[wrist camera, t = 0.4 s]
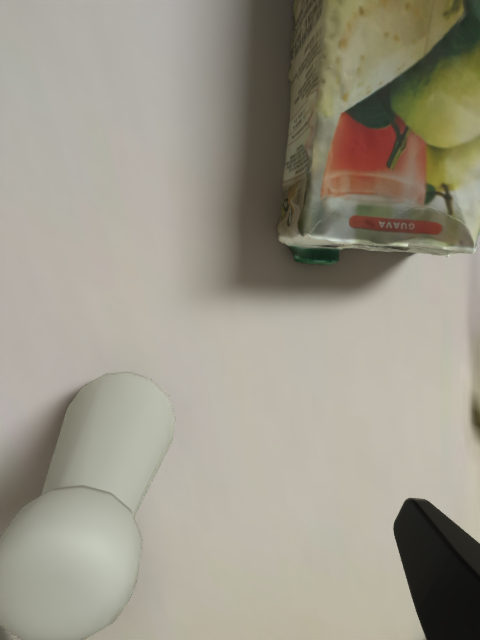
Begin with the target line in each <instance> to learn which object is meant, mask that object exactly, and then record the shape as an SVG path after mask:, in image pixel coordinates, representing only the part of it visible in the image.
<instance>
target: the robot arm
mask: <svg viewBox="0 0 480 640" xmlns="http://www.w3.org/2000/svg"><path fill="white" fill-rule="evenodd" d="M394 536H395V539H396V543H397V547H398V550H399V554H400V557H401V561H402V564H403V568H404V571H405V575H406V578H407V582H408V585H409V589H410V592H411V596H412V599H413V602H414V606H415V609H416V612H417V615H418V618H419V620H420V623H421V626H422V629H423V631H424V634H425V637H426V639H427V640H480V543H478V542H477V541H476V540H475V539H474V538H472V537H471V536H470V535H469V534H467V533H466V532H465V531H464V530H463V529H461V528H460V527H459V526H458V525H457V524H455V523H454V522H453V521H452V520H451V519H449V518H448V517H447V516H446V515H445V514H443V513H442V512H441V511H440V510H439V509H437V508H436V507H435V506H434V505H433V504H431V503H430V502H429V501H427V500H425V499H419V498H408V499H406V500H405V502H404V503H403V505H402V508H401V510H400V512H399V514H398V516H397V518H396V520H395V522H394Z"/></svg>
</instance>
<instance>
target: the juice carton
mask: <svg viewBox="0 0 480 640" xmlns="http://www.w3.org/2000/svg"><path fill="white" fill-rule="evenodd" d="M293 16H294V20H295V27H294V29H293V30H294V33H293V37H292V41H291V53H292V54H293V59H292V61H291V62H290V64H291V66H292V67H290V68H289V71H288V79H289V81H290V83H291V88H290V122H289V127H288V143H287V149H286V165H285V170H284V176H283V180H282V191H283V201H282V205H281V212H282V216H281V220H280V221H279V223H278V225H277V227H278V228H277V231H278V233H279V241H280V242H282V243H283V244H285V245H286V246H287V247H289V248H290V250H291V251H292V253H293V256H294V260H295V261H296V262H300V263H306V264H320V265H332V264H335V263H336V262H337V261H338V260H339V251H340V250H343V249H353V248H358V249H365V250H368V251H383V252H395V251H396V252H414V253H424V254H432V255H447V257H449V256H451V255H452V254H455V253H469V254H472V253H475V251H476V244H477V239H478V236H479V233H480V0H295V1H294V5H293Z"/></svg>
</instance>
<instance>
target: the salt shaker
mask: <svg viewBox="0 0 480 640" xmlns="http://www.w3.org/2000/svg"><path fill="white" fill-rule="evenodd" d="M175 422H176V418H175V414H174V411H173V408H172V405H171V402H170V400H169V397H168V395H167V394H166V393H165V392H164V391H163V390H162V389H161V388H160V387H159V386H158V385H157V384H156V383H155V382H154V381H153V380H152V379H149V378H146V377H143V376H140V375H137V374H134V373H131V372H123V373H111V374H105V375H103V376H101V377H99V378H98V379H96V380H94V381H92V382H91V383H89V384H87V385H85V386H84V387H82V388H81V389H80V391H79V392H78V394H77V395H76V396H75V398H74V399H73V401H72V402H71V404H70V405H69V406H68V408H67V411H66V414H65V417H64V421H63V424H62V427H61V431H60V434H59V437H58V441H57V444H56V447H55V451H54V454H53V457H52V460H51V464H50V467H49V470H48V474H47V477H46V480H45V484H44V487H43V490H42V494H41V496H40V497H38V498H37V499H35V500H33V501H31V502H30V503H28V504H27V505H25V506H24V507H22V508H21V510H20V511H19V512H18V514H17V515H16V516H15V517H14V519H13V520H12V521H11V523H10V524H9V526H8V527H7V528H6V530H5V531H4V533H3V534H2V535H1V537H0V626H1V627H3V628H4V629H6V630H8V631H9V632H11V633H12V634H14V635H15V636H17V637H18V638H20V639H21V640H83V639H85V638H87V637H89V636H91V635H93V634H94V633H96V632H98V631H100V630H101V629H103V628H105V627H107V626H109V625H110V624H112V623H113V622H114V621H115V620H116V618H117V617H118V615H119V614H120V613H121V611H122V610H123V609H124V607H125V606H126V604H127V603H128V602H129V600H130V598H131V595H132V592H133V590H134V587H135V584H136V582H137V576H138V570H139V564H140V557H141V549H142V536H141V533H140V530H139V528H138V525H137V523H136V520H135V518H134V516H135V514H136V512H137V510H138V508H139V506H140V504H141V502H142V500H143V498H144V496H145V494H146V492H147V490H148V488H149V486H150V484H151V482H152V480H153V478H154V476H155V474H156V472H157V470H158V468H159V466H160V464H161V462H162V460H163V458H164V456H165V455H166V453H167V451H168V449H169V447H170V445H171V443H172V440H173V434H174V428H175Z"/></svg>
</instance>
